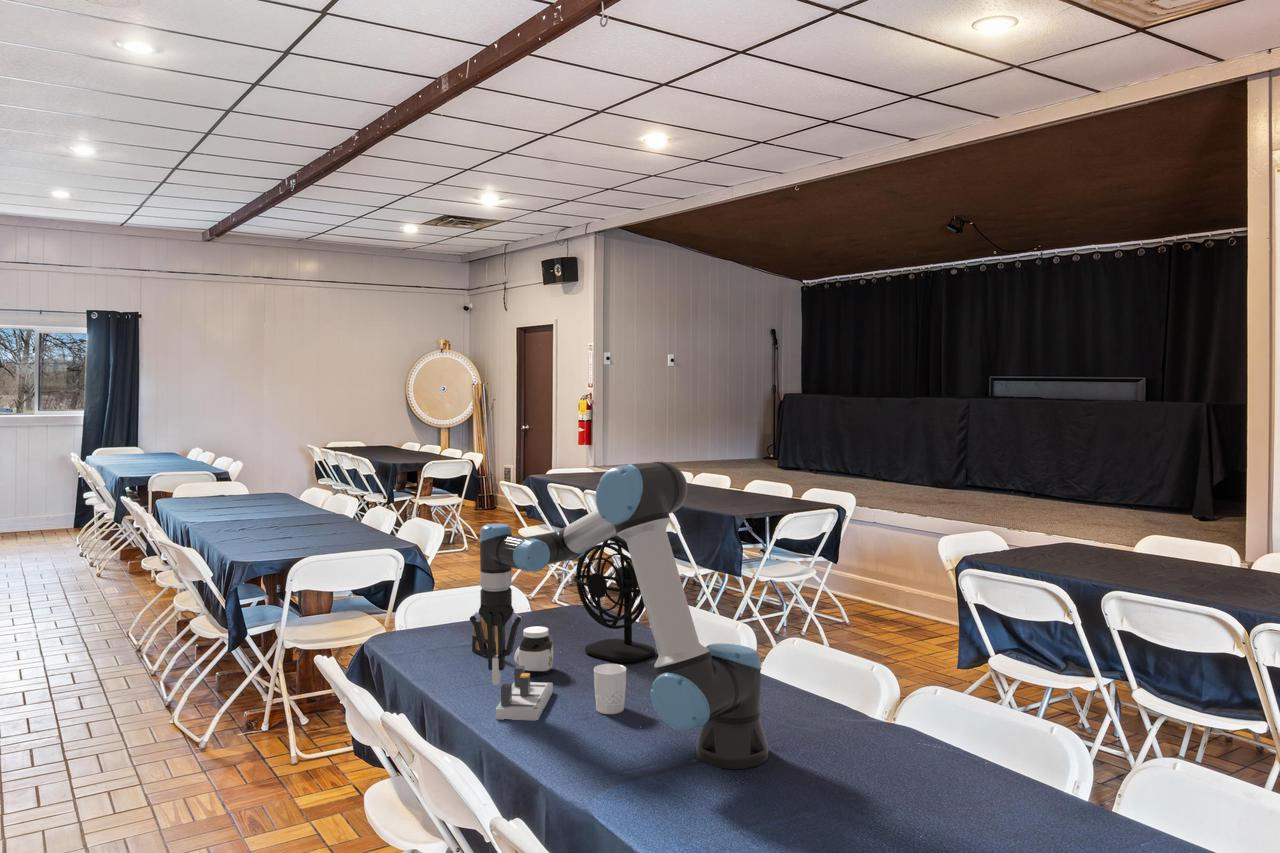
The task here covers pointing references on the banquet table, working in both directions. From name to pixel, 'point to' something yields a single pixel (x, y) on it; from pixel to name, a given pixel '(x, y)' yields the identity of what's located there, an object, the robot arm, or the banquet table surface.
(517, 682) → the handle
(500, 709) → the breaker panel
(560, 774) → the banquet table surface
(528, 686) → the handle
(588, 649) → the desk fan
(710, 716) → the robot arm
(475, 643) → the ammunition clip
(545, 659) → the spread jar
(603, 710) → the white cup
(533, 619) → the banquet table surface
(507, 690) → the handle
